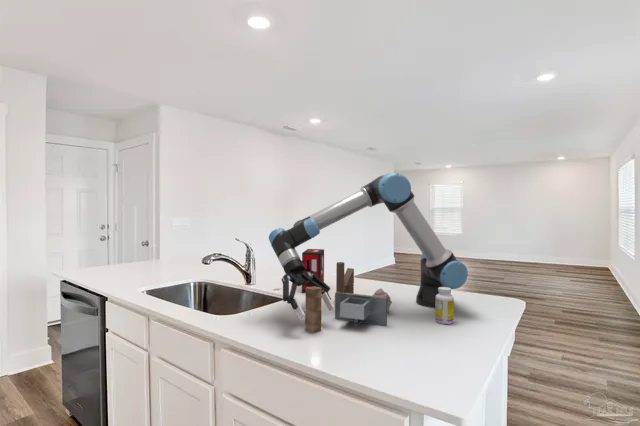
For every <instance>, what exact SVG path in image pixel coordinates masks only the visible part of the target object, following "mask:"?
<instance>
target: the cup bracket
mask: <svg viewBox="0 0 640 426" xmlns="http://www.w3.org/2000/svg"><path fill="white" fill-rule="evenodd" d="M334 319H337V320H343V321H349V322H354V326H359V325H360V324H361V323H363V324H369V325H370V324H371V325H378V326H384V327H386V326H387V325H388V314H387V297H378V296H372V295H369V294H359V293H354V294H352V293H344V292H336V291H335V292H334Z"/></svg>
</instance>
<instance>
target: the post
mask: <svg viewBox="0 0 640 426" xmlns="http://www.w3.org/2000/svg"><path fill="white" fill-rule="evenodd" d="M322 291H323V290H322V288H320V287H316V286H312V287H307V288H306V293H305V304H304V305H305V308H304V310H305V312H304V314H305V315H304V317H305V318H304V319H305V320H304V321H305V323H304V327H305V328H304V330H305V331H307V332H309V333H310V334H311V333H312V334H314V333H318V332H322V303H323V299H322Z"/></svg>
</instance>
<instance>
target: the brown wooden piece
mask: <svg viewBox="0 0 640 426" xmlns="http://www.w3.org/2000/svg"><path fill="white" fill-rule="evenodd" d="M335 269H336V275H335V277H336V284H335V285H336V287H335V288H336V289H335V293H336V292H344V293H352V294H355V293H354V291H355V290H354V287H355V285H354V283H355V268H351V267H347V269H346V270H345V262H343V261H337V262H336V268H335Z"/></svg>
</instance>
